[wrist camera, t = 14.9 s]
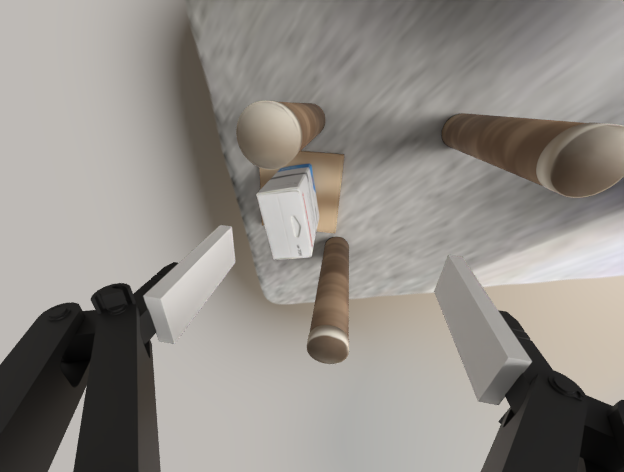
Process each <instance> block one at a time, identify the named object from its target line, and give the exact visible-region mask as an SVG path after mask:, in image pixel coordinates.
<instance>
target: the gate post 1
mask: <svg viewBox="0 0 624 472" xmlns="http://www.w3.org/2000/svg"><path fill="white" fill-rule="evenodd" d="M324 126H325V115H324V112H323V110H322V109H321V108H320V107H319V106H317V105H316V104H311V103H288V102H276V101H258V102H255V103H253V104H251V105H249V106H248V107H247V108H246V109H245V110H244V111H243V112H242V113H241V115H240V117H239V120H238V123H237V129H236V135H237V141H238V144H239V147H240V149H241V151H242V153H243V154H244V156H245V157H246V158H247V159H248V160H249V161H250V162H251V163H253V164H254V165H256V166H258V167H260V168H263V169H269V170H273V169H278V168H281V167H283V166H285V165H287V164H288V163H289V162H290V161H291V160H292V159H293V158H294V157H295V156H296V155H297V154H298V153H299V152H300V151H301V150H302V149H303V148H304V147H305V146H306V145H307V144H308V143H309V142H311V141H312V140H313V139H314V138H315V137H316V136H317V135H318V134H319V133H320V132H321V131H322V130H323V128H324Z"/></svg>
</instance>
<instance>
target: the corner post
mask: <svg viewBox="0 0 624 472" xmlns="http://www.w3.org/2000/svg"><path fill="white" fill-rule="evenodd" d="M348 303H349V245H348V243H347V241H346V240H345V239H343V238H341V237H332V238H330V239H329V240H327V242H326V244H325V248H324V254H323V260H322V265H321V271H320V277H319V282H318V288H317V294H316V300H315V305H314V311H313V317H312V322H311V328H310V333H309V337H308V343H307V351H308V353H309V355H310V356H311V357H312V358H313V359H315V360H317V361H319V362H322V363H326V364H335V363H339V362H342V361H343V360H345V359H346V358H347V356H348V354H349V338H348V322H349V318H348V317H349V316H348V315H349V313H348V312H349V310H348V309H349V304H348Z"/></svg>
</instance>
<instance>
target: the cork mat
mask: <svg viewBox="0 0 624 472" xmlns="http://www.w3.org/2000/svg"><path fill="white" fill-rule="evenodd" d="M343 162H344V154H333V153H321V152H309V151H300V152H299V153H298V154H297V155H296V156H295V157H294V158H293V159H292V160H291V161H290V162H289V163H288V164H287V165H285V166H283V167H281V168H284V167H288V166H294V165H302V164H311V165H312V171H313V177H314V184H315V191H316V197H317V204H318V210H319V221H318V226H317V231H318V232H327V233H335V232H336V223H337V215H338V206H339V197H340V188H341V179H342V171H343ZM281 168H278V169H273V170H269V169H263V168H260V189H261V188H262V187H263V186H264V185H265V184H266V183H267V182H268V181H269V180H270V179H271V178H272V177H273V176H274V175H275V174H276V173H277V172H278V171H279V170H280V169H281ZM262 225H264V222H263V219H262Z"/></svg>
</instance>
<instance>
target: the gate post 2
mask: <svg viewBox="0 0 624 472" xmlns="http://www.w3.org/2000/svg"><path fill="white" fill-rule="evenodd" d="M442 140H443V142H444V143H445V144H446V145H447V146H449V147H452V148H454V149H456V150H459V151H461V152H463V153H466V154H468V155H471V156H473V157H475V158H478V159H480V160H482V161H485V162H487V163H490V164H492V165H494V166H497V167H499V168H501V169H504V170H506V171H509V172H511V173H513V174H516V175H518V176H520V177H523V178H525V179H528V180H530V181H532V182H535V183H537V184H539V185H542V186H544V187H545V188H547V189H549V190H551V191H554V192H556V193H558V194H561V195H563V196H566V197H571V198H582V197H588V196H592V195H595V194H598V193H600V192H602V191H604V190H606V189H608V188H610V187H611V186H613V185H614V184H616V183H617V182H618V181H619V180H621V179H622V178H623V177H624V126H621V125H616V124H604V123H578V122H565V121H553V120H540V119H527V118H514V117H502V116H489V115H476V114H457V115H455V116H453V117H451V118H450V119H449V120H448V121H447V122H446V123H445V125H444V126H443V129H442Z"/></svg>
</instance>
